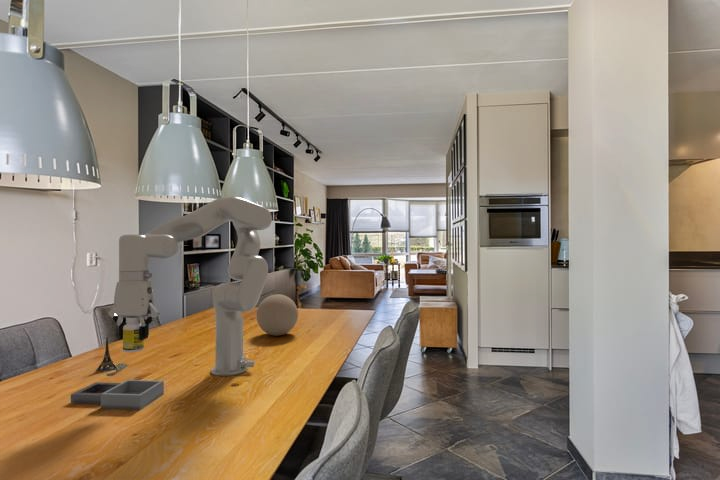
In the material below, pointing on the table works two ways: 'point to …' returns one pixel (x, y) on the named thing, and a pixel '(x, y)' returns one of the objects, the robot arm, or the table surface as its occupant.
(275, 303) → the decorative sphere
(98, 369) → the eiffel tower figurine
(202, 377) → the table surface
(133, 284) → the robot arm
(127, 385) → the tray
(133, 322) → the supplement bottle
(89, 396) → the socket collar
